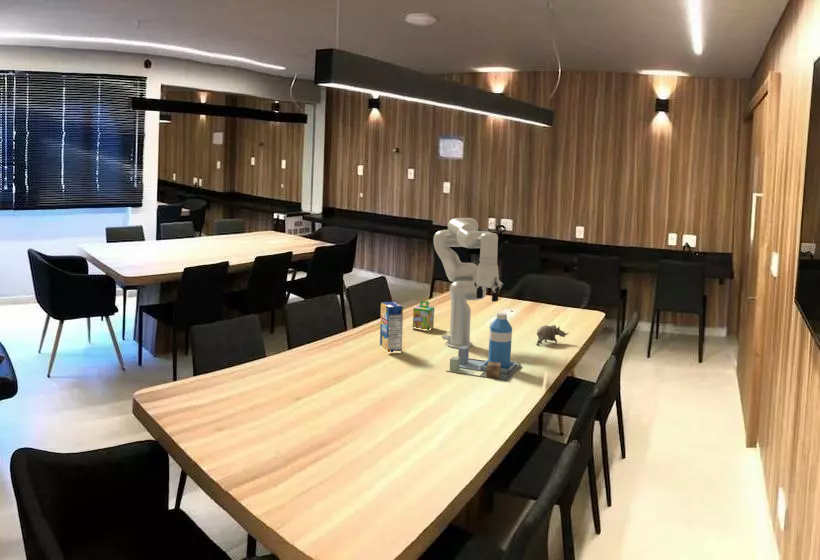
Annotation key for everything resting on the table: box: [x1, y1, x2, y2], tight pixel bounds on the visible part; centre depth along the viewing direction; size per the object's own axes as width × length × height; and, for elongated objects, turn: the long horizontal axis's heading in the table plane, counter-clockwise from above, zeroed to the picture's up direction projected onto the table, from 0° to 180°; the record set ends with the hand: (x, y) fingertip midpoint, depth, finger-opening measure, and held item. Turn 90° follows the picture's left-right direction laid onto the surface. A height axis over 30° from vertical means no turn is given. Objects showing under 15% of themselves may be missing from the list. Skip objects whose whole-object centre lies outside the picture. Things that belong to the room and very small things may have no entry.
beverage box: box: [379, 301, 404, 352], centre depth 313 cm, size 7×11×22 cm, turn 21°
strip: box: [448, 356, 477, 375], centre depth 282 cm, size 10×6×6 cm, turn 67°
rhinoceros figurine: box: [535, 324, 570, 347], centre depth 335 cm, size 8×14×15 cm
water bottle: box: [487, 312, 513, 369], centre depth 286 cm, size 9×9×25 cm
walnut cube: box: [486, 362, 501, 378], centre depth 277 cm, size 5×5×5 cm
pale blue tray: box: [457, 346, 518, 374], centre depth 289 cm, size 24×13×8 cm, turn 67°
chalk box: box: [412, 300, 435, 330], centre depth 357 cm, size 9×9×15 cm
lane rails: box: [445, 357, 522, 382], centre depth 286 cm, size 26×23×2 cm
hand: (487, 299), depth 299 cm, fingers open, 9 cm apart
